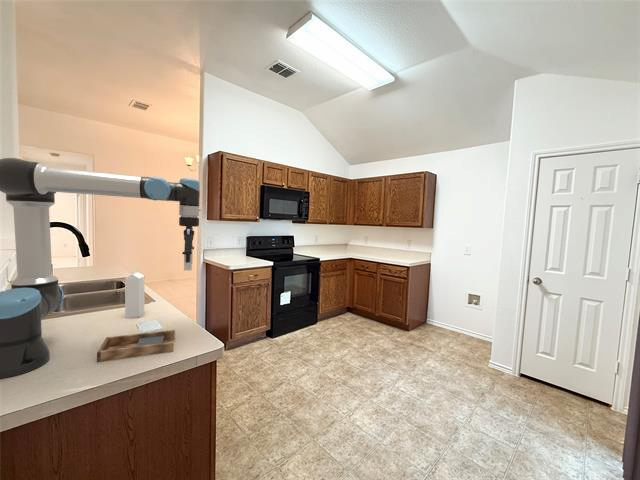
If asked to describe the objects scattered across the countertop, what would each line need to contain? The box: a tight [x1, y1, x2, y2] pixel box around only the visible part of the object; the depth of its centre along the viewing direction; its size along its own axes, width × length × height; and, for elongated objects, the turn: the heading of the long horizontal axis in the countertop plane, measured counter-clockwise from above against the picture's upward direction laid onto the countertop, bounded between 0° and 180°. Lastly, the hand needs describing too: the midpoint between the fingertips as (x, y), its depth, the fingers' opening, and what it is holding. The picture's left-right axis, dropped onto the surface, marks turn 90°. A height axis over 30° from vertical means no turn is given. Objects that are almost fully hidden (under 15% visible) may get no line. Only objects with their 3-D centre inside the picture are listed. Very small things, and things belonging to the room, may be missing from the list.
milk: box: [124, 269, 145, 319], centre depth 133 cm, size 6×6×22 cm
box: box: [96, 329, 176, 363], centre depth 101 cm, size 22×12×4 cm, turn 115°
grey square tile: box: [137, 335, 164, 346], centre depth 103 cm, size 8×8×2 cm
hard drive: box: [135, 319, 165, 334], centre depth 121 cm, size 2×8×12 cm
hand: (188, 267), depth 118 cm, fingers open, 13 cm apart
